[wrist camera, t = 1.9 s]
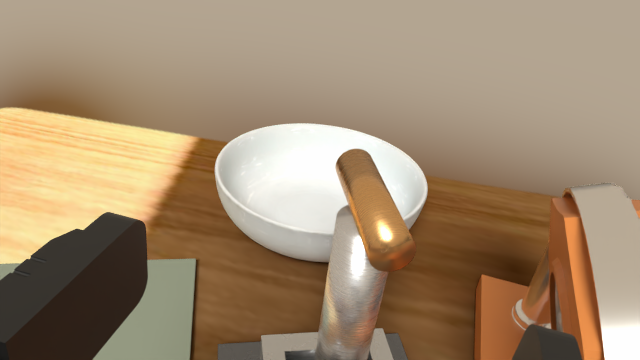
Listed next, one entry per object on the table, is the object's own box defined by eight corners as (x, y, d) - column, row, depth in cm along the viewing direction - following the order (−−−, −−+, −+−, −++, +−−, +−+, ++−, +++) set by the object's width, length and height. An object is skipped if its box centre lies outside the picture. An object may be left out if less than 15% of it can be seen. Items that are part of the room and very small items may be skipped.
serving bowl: (444, 220, 55) (460, 167, 52) (344, 333, 40) (357, 269, 37) (297, 153, 65) (301, 105, 61) (169, 225, 49) (166, 166, 46)
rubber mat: (185, 432, 32) (185, 427, 31) (-102, 459, 29) (-105, 453, 28) (196, 263, 45) (195, 258, 45) (0, 269, 42) (-1, 264, 42)
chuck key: (373, 476, 30) (448, 232, 20) (301, 485, 29) (343, 235, 19) (348, 375, 36) (397, 149, 26) (287, 380, 35) (314, 147, 25)
